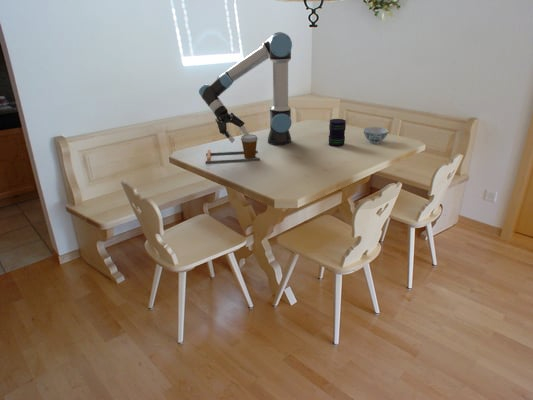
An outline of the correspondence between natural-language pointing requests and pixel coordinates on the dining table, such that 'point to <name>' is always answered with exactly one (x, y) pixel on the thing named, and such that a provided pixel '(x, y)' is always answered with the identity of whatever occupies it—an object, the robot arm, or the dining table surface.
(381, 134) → the chinaware
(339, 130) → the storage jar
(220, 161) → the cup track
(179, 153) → the dining table surface
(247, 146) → the disposable coffee cup
